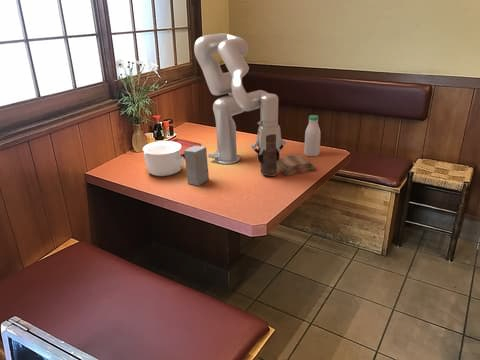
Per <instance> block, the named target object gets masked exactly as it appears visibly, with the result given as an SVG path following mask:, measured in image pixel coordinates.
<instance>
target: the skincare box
mask: <svg viewBox="0 0 480 360" xmlns="http://www.w3.org/2000/svg"><path fill="white" fill-rule="evenodd" d="M207 153H208V152H207V146H202V145H201V146H196V145H195V146H193V147H190V148H188V149H186V150H184V154H185V156H184V163H185V169H186V170H185V171H186V180H187V184H189V185H194V186H197V187H200V186H201V185H203V184H205V182H208V181H209V179H210V177H209V174H210V173H209V165H208V154H207Z"/></svg>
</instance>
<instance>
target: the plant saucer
mask: <svg viewBox="0 0 480 360" xmlns="http://www.w3.org/2000/svg"><path fill="white" fill-rule="evenodd" d="M171 141H173V142H177V143H179V144H181V149H180V150H179V151H180V156H182V157H183V156H184V157H185V154H184V150H186V149H188V148H190V147H193V146H195V145H196V146H202V144H203V143H199V142H195V141H191V140H186V139H182V138H179V137H178V138H174V139H172V140H171ZM184 157H183V158H184Z"/></svg>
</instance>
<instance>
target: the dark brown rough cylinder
mask: <svg viewBox="0 0 480 360" xmlns="http://www.w3.org/2000/svg"><path fill="white" fill-rule="evenodd" d="M277 171H278V169H277V148H276V134H275V135H269V136H266V150H263V152H262V163H260V174H262V175H264V176H271V177H272V176H274V177H275V176H277V173H278V172H277Z"/></svg>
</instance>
